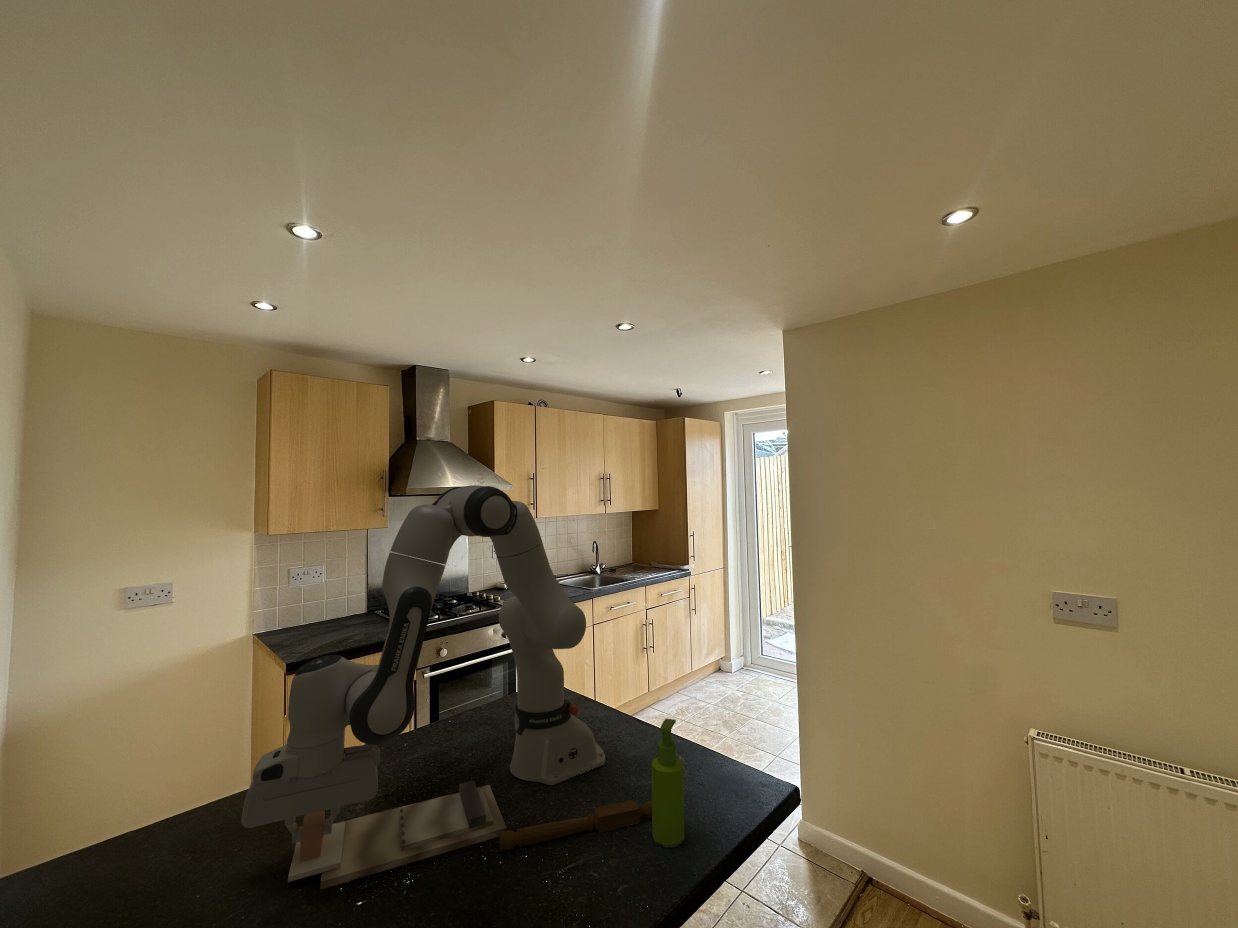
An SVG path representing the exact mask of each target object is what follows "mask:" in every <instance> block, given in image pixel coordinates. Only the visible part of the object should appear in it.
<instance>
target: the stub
mask: <svg viewBox="0 0 1238 928" xmlns="http://www.w3.org/2000/svg"><path fill="white" fill-rule="evenodd" d="M325 812H326V810H323V811H319V812H315V813H311V814H306V815H303V821H302V825H301V826H302V828H301V841H300V842H296V843H295V846H294V847H295V848H294V852H293V855H292V856H293V857H292V860H291V863H290V868H289V873H288V876H287V883H289V882H293V881H297V880H300V879H304V878H308V877H311V876H315V875H318V874H322V872H325V871H329V870H332V869H336V868H340V867H341V858H342V849H343V839H344V830H345V822H342V821H340V822H341V823H338V822H336V823H337V824H334V823H333V827H332V833H331V834H327V835H323V836H322V832H323V830H322V827H323V821H324V820H326V818H325V815H326V813H325Z"/></svg>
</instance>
